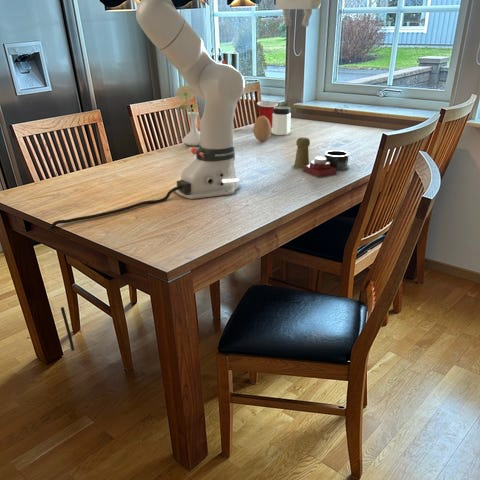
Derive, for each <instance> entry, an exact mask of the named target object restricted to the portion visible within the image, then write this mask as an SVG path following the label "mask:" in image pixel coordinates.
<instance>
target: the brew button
mask: <svg viewBox="0 0 480 480" xmlns="http://www.w3.org/2000/svg"><path fill="white" fill-rule="evenodd" d="M313 160H314V163H316V164H325V163H326V158H325V156H316V157H314V159H313Z"/></svg>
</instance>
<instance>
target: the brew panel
mask: <svg viewBox="0 0 480 480" xmlns="http://www.w3.org/2000/svg"><path fill="white" fill-rule="evenodd" d="M314 160H315V159H312V160H309V164H308V165H303V169H302V171H303V172H305V173H306V174H309V175H311V176H314V177H317V178H323V177H328V176H333V175H337V171H336V169H337V168H334V167H331V166H330V161H327V160H326V163H325V164H316V163H314Z"/></svg>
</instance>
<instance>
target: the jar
mask: <svg viewBox="0 0 480 480" xmlns="http://www.w3.org/2000/svg"><path fill="white" fill-rule="evenodd" d="M273 111H274V113H273V120H272V128H271V134H273V135H276V136H287V135H289V134H291V119H292V117H291V116H292V113H291V106H287V105H286V106H285V105H281V106H279V105H277V107H274V110H273Z"/></svg>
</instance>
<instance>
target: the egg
mask: <svg viewBox="0 0 480 480" xmlns="http://www.w3.org/2000/svg"><path fill="white" fill-rule="evenodd" d="M252 130H253V136H254V137H255V139H256V140H257V141H259V142H266V141H267V140H268V139H269V138H270V137H271V134H272V128H271V125H270V122H269V120H268V119H267V118H266V117H265V116H260V115H259V116H258V117H257V119H256V120H255V121H254V123H253V129H252Z"/></svg>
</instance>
